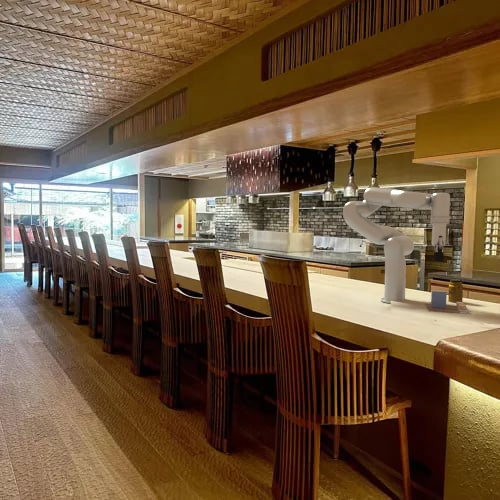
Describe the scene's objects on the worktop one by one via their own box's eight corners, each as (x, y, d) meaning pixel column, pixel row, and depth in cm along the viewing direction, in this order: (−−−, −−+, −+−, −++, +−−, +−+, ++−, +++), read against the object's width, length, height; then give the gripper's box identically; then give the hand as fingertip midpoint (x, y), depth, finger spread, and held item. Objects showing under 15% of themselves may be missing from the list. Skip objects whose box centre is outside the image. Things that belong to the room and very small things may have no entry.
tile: (430, 306, 192) (431, 290, 192) (445, 307, 190) (446, 291, 190) (431, 306, 191) (431, 291, 190) (446, 307, 189) (446, 291, 188)
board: (424, 307, 198) (425, 303, 198) (463, 309, 193) (463, 306, 193) (428, 315, 181) (428, 311, 181) (471, 317, 176) (471, 314, 176)
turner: (454, 305, 193) (454, 301, 193) (464, 306, 192) (464, 302, 192) (460, 313, 177) (460, 308, 177) (471, 314, 176) (471, 309, 176)
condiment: (444, 303, 208) (445, 278, 207) (462, 303, 208) (463, 278, 207) (451, 306, 200) (452, 280, 200) (470, 306, 200) (471, 280, 200)
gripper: (428, 220, 203) (427, 259, 204) (432, 220, 187) (431, 262, 188) (446, 220, 201) (445, 259, 202) (451, 220, 185) (450, 262, 186)
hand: (438, 260), depth 195 cm, fingers open, 5 cm apart
